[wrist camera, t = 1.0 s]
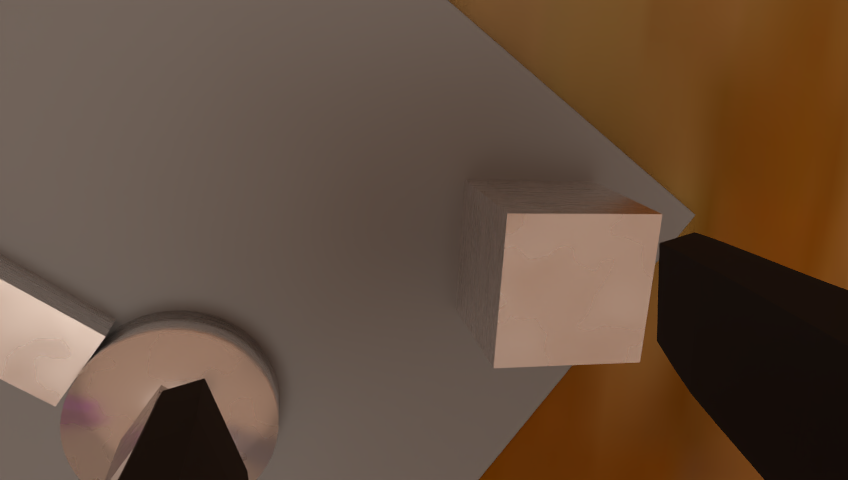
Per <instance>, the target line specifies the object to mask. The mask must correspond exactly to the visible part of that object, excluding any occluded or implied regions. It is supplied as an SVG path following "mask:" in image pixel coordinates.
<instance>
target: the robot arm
mask: <svg viewBox="0 0 848 480" xmlns="http://www.w3.org/2000/svg"><path fill="white" fill-rule="evenodd" d="M657 342H658V343H659V345H660V346H661V348H662V350H663V351H664V353H665V354H666V356H667V358H668V359H669V361H670V362H671V364H672V366H673V367H674V369H675V370H676V372H677V373H678V375H679V376H680V378H681V379H682V381H683V382H684V384H685V385H686V387H687V388H688V390H689V391H690V393H691V394H692V395H693V396H694V397H695V399H696V400H697V401H698V402H699V404H700V405H701V406H702V407H703V408H704V409H705V411H706V412H707V413H708V414H709V415H710V417H711V418H712V419H713V420H714V421H715V423H716V424H717V425H718V426H719V427H720V428H721V430H722V431H723V432H724V433H725V434H726V435H727V437H728V438H729V439H730V440H731V441H732V442H733V444H734V445H735V446H736V447H737V448H738V449H739V451H740V452H741V453H742V454H743V455H744V456H745V458H746V459H747V460H748V461H749V462H750V463H751V464H752V466H753V467H754V468H755V469H756V470H757V471H758V473H759V474H760V475H761V476H762V477H763V478H764V480H848V290H846V289H843V288H840V287H837V286H835V285H832V284H829V283H827V282H824V281H821V280H819V279H816V278H814V277H811V276H808V275H806V274H803V273H800V272H798V271H795V270H793V269H790V268H788V267H785V266H783V265H780V264H777V263H775V262H772V261H770V260H767V259H765V258H762V257H760V256H757V255H755V254H752V253H750V252H747V251H744V250H742V249H739V248H737V247H734V246H731V245H729V244H726V243H724V242H721V241H718V240H715V239H713V238H710V237H707V236H704V235H701V234H698V233H691V234H688V235H685V236H681V237H678V238H675V239H671V240H668V241H664V242H661V243H659V284H658V324H657ZM118 480H249V479H248V471H247V469H246V467H245V464H244V462H243V460H242V458H241V456H240V454H239V451H238V449H237V447H236V445H235V443H234V441H233V438H232V436H231V434H230V432H229V430H228V428H227V425H226V423H225V421H224V419H223V417H222V415H221V412H220V410H219V408H218V406H217V404H216V402H215V399H214V397H213V395H212V393H211V391H210V389H209V386H208V384H207V382H206V380H205V378H204V379H200V380H197V381H194V382H190V383H187V384H183V385H180V386H177V387H173V388H170V389H167V390H163V391H162V392H161V394H160V396H159V397H158V399H157V401H156V403H155V405H154V407H153V409H152V411H151V413H150V415H149V417H148V419H147V422H146V424H145V426H144V428H143V430H142V432H141V434H140V436H139V438H138V440H137V442H136V444H135V446H134V448H133V450H132V452H131V454H130V456H129V458H128V460H127V462H126V464H125V466H124V468H123V470H122V472H121V474H120V476H119V478H118Z"/></svg>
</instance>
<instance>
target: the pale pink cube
mask: <svg viewBox="0 0 848 480" xmlns="http://www.w3.org/2000/svg"><path fill="white" fill-rule="evenodd" d="M662 215H663V214H661V213H659V212H657V211H655V210H653V209H650V208H648V207H646V206H644V205H642V204H640V203H638V202H636V201H634V200H631V199H629V198H627V197H625V196H623V195H621V194H619V193H617V192H615V191H612V190H610V189H608V188H606V187H604V186H602V185H600V184H598V183H596V182H585V181H519V180H465V186H464V201H463V215H462V229H461V243H460V257H459V271H458V285H457V299H456V310H457V311H458V313H459V315H460V316H461V318H462V319H463V321H464V322H465V324H466V326H467V327H468V329H469V330H470V332H471V334H472V335H473V337H474V338H475V340H476V341H477V343H478V345H479V346H480V348H481V349H482V351H483V352H484V354H485V356H486V357H487V359H488V360H489V362H490V364H491V365H492V367H493V368H514V367H538V366H562V365H586V364H610V363H634V362H640V358H641V352H642V345H643V339H644V332H645V326H646V319H647V313H648V306H649V300H650V293H651V287H652V280H653V273H654V267H655V260H656V254H657V247H658V241H659V234H660V228H661V221H662Z"/></svg>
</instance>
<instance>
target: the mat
mask: <svg viewBox="0 0 848 480" xmlns="http://www.w3.org/2000/svg"><path fill="white" fill-rule="evenodd" d="M465 180H519V181H585V182H596V183H598V184H600V185H602V186H604V187H606V188H608V189H610V190H612V191H615V192H617V193H619V194H621V195H623V196H625V197H627V198H629V199H631V200H634V201H636V202H638V203H640V204H642V205H644V206H646V207H648V208H650V209H653V210H655V211H657V212H659V213H661V214H663V215H662V221H661V228H660V234H659V241H658V247H657V254H656V260H655V264H656V262H657V261H658V260H659V243H661V242H664V241H668V240H671V239H675V238H677V237H678V236H679V234H680V233H681V232H682V231H683V229H684V228H685V227H686V226H687V225H688V223H689V222H690V221H691V220H692V218H693V217H694V216H695V214H694V213H692V212H691V211H690V210H689V209H688V208H687V207H686V206H684V205H683V204H682V203H681V202H680V201H679V200H677V199H676V198H675V197H674V196H673V195H672V194H671V193H669V192H668V191H667V190H666V189H665V188H664V187H662V186H661V185H660V184H659V183H658V182H657V181H656V180H654V179H653V178H652V177H651V176H650V175H649V174H648V173H646V172H645V171H644V170H643V169H642V168H641V167H639V166H638V165H637V164H636V163H635V162H634V161H633V160H631V159H630V158H629V157H628V156H627V155H626V154H624V153H623V152H622V151H621V150H620V149H619V148H618V147H616V146H615V145H614V144H613V143H612V142H611V141H609V140H608V139H607V138H606V137H605V136H604V135H603V134H601V133H600V132H599V131H598V130H597V129H596V128H594V127H593V126H592V125H591V124H590V123H589V122H588V121H586V120H585V119H584V118H583V117H582V116H581V115H579V114H578V113H577V112H576V111H575V110H574V109H573V108H571V107H570V106H569V105H568V104H567V103H566V102H564V101H563V100H562V99H561V98H560V97H559V96H558V95H556V94H555V93H554V92H553V91H552V90H551V89H549V88H548V87H547V86H546V85H545V84H544V83H543V82H541V81H540V80H539V79H538V78H537V77H536V76H534V75H533V74H532V73H531V72H530V71H529V70H528V69H526V68H525V67H524V66H523V65H522V64H521V63H519V62H518V61H517V60H516V59H515V58H514V57H513V56H511V55H510V54H509V53H508V52H507V51H506V50H504V49H503V48H502V47H501V46H500V45H499V44H498V43H496V42H495V41H494V40H493V39H492V38H491V37H490V36H488V35H487V34H486V33H485V32H484V31H483V30H481V29H480V28H479V27H478V26H477V25H476V24H475V23H473V22H472V21H471V20H470V19H469V18H468V17H466V16H465V15H464V14H463V13H462V12H461V11H460V10H458V9H457V8H456V7H455V6H454V5H453V4H451V3H450V2H449V1H448V0H0V254H1V255H3V256H5V257H7V258H8V259H10V260H12V261H14V262H15V263H17V264H19V265H21V266H23V267H24V268H26V269H28V270H30V271H32V272H33V273H35V274H37V275H39V276H40V277H42V278H44V279H46V280H48V281H49V282H51V283H53V284H55V285H57V286H58V287H60V288H62V289H64V290H66V291H67V292H69V293H71V294H73V295H74V296H76V297H78V298H80V299H82V300H83V301H85V302H87V303H89V304H91V305H92V306H94V307H96V308H98V309H99V310H101V311H103V312H105V313H107V314H108V315H110V316H112V317H114V318H116V320H115V321H114V323H113V325H112V327H111V328H110V330H109V332H108V333H107V335H106V337H107V336H108V335H109V334H110V333H112V332H113V331H114V330H116V329H117V328H119V327H120V326H122V325H124V324H126V323H128V322H130V321H132V320H134V319H137V318H139V317H142V316H145V315H149V314H153V313H157V312H164V311H180V310H186V311H195V312H201V313H206V314H210V315H213V316H216V317H219V318H222V319H224V320H226V321H228V322H230V323H232V324H234V325H236V326H238V327H239V328H241V329H242V330H244V331H245V332H246V333H248V334H249V335H250V336H251V337H252V338H253V339H254V340H255V341H256V342H257V343H258V344H259V345H260V346H261V348H262V349H263V350H264V352H265V353H266V355H267V356H268V358H269V359H270V361H271V364H272V366H273V368H274V371H275V374H276V378H277V382H278V390H279V418H278V435H277V441H276V445H275V448H274V451H273V454H272V456H271V458H270V460H269V462H268V464H267V466H266V467H265V469H264V470H263V472H262V473H261V475H260V476H259V477H258V478H257V479H256V480H479V478H480V477H481V476H482V475H483V473H484V472H485V471H486V470H487V469H488V467H489V466H490V465H491V464H492V462H493V461H494V460H495V459H496V458H497V456H498V455H499V454H500V453H501V452H502V450H503V449H504V448H505V447H506V445H507V444H508V443H509V442H510V441H511V439H512V438H513V437H514V436H515V434H516V433H517V432H518V431H519V430H520V428H521V427H522V426H523V425H524V423H525V422H526V421H527V420H528V419H529V417H530V416H531V415H532V414H533V412H534V411H535V410H536V409H537V408H538V406H539V405H540V404H541V403H542V401H543V400H544V399H545V398H546V397H547V395H548V394H549V393H550V392H551V390H552V389H553V388H554V387H555V386H556V384H557V383H558V382H559V381H560V380H561V378H562V377H563V376H564V375H565V373H566V372H567V371H568V370H569V369H570V367H571V366H572V365H562V366H538V367H514V368H493V367H492V365H491V364H490V362H489V360H488V359H487V357H486V356H485V354H484V352H483V351H482V349H481V348H480V346H479V345H478V343H477V341H476V340H475V338H474V337H473V335H472V334H471V332H470V330H469V329H468V327H467V326H466V324H465V322H464V321H463V319H462V318H461V316H460V315H459V313H458V311H457V310H456V299H457V285H458V271H459V257H460V243H461V229H462V215H463V201H464V186H465ZM106 337H105V338H106ZM78 375H79V374H78ZM76 378H77V377H76ZM75 380H76V379H75ZM75 380H74V381H75ZM74 381H73V383H74ZM73 383H72V384H71V386H72V385H73ZM71 386H70V387H69V388H68V390H67V391H66V393H65V394H64V395H63V397H62V398H61V399H60V401H59V402H58V404H57V405H56V406H53V405H51V404H49V403H47V402H45V401H43V400H41V399H39V398H37V397H35V396H33V395H31V394H29V393H27V392H25V391H23V390H21V389H19V388H17V387H15V386H13V385H11V384H9V383H7V382H5V381H3V380H1V379H0V480H80V479H79V478H78V477H77V475H76V474H75V473H74V471H73V469H72V468H71V466H70V464H69V463H68V460H67V458H66V455H65V453H64V450H63V446H62V442H61V433H60V421H61V413H62V409H63V405H64V401H65V399H66V397H67V394H68V392H69V390H70V388H71Z"/></svg>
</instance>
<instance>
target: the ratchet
mask: <svg viewBox="0 0 848 480" xmlns="http://www.w3.org/2000/svg"><path fill="white" fill-rule="evenodd" d="M115 320H116V318H114V317H112V316H110V315H108V314H107V313H105V312H103V311H101V310H99V309H98V308H96V307H94V306H92V305H91V304H89V303H87V302H85V301H83V300H82V299H80V298H78V297H76V296H74V295H73V294H71V293H69V292H67V291H66V290H64V289H62V288H60V287H58V286H57V285H55V284H53V283H51V282H49V281H48V280H46V279H44V278H42V277H40V276H39V275H37V274H35V273H33V272H32V271H30V270H28V269H26V268H24V267H23V266H21V265H19V264H17V263H15V262H14V261H12V260H10V259H8V258H7V257H5V256H3V255H1V254H0V379H1V380H3V381H5V382H7V383H9V384H11V385H13V386H15V387H17V388H19V389H21V390H23V391H25V392H27V393H29V394H31V395H33V396H35V397H37V398H39V399H41V400H43V401H45V402H47V403H49V404H51V405H53V406H56V405H57V404H58V402H59V401H60V399H61V398H62V397H63V395H64V394H65V393H66V391H67V390H68V388H69V387H70V386H71V384H72V383H73V381H74V380H75V379H76V380H75V381H74V383H73V385H72V386H71V388H70V390H69V392H68V394H67V397H66V399H65V401H64V405H63V409H62V413H61V421H60V433H61V442H62V446H63V450H64V453H65V455H66V458H67V460H68V463H69V464H70V466H71V468H72V469H73V471H74V473H75V474H76V475H77V477H78V478H79V479H80V480H118V478H119V476H120V474H121V472H122V470H123V468H124V466H125V464H126V462H127V460H128V458H129V456H130V454H131V452H132V450H133V448H134V446H135V444H136V442H137V440H138V438H139V436H140V434H141V432H142V430H143V428H144V426H145V424H146V422H147V419H148V417H149V415H150V413H151V411H152V409H153V407H154V405H155V403H156V401H157V399H158V397H159V396H160V394H161V392H162V391H163V390H167V389H170V388H173V387H177V386H180V385H183V384H187V383H190V382H194V381H197V380H200V379H204V378H205V380H206V382H207V384H208V386H209V389H210V391H211V393H212V395H213V397H214V399H215V402H216V404H217V406H218V408H219V410H220V412H221V415H222V417H223V419H224V421H225V423H226V425H227V428H228V430H229V432H230V434H231V436H232V438H233V441H234V443H235V445H236V447H237V449H238V451H239V454H240V456H241V458H242V460H243V462H244V464H245V467H246V469H247V471H248V479H249V480H256V479H257V478H258V477H259V476H260V475H261V473H262V472H263V470H264V469H265V467H266V466H267V464H268V462H269V460H270V458H271V456H272V454H273V451H274V448H275V445H276V441H277V435H278V418H279V390H278V382H277V378H276V374H275V371H274V368H273V366H272V364H271V361H270V359H269V358H268V356H267V355H266V353H265V352H264V350H263V349H262V348H261V346H260V345H259V344H258V343H257V342H256V341H255V340H254V339H253V338H252V337H251V336H250V335H249V334H248V333H246V332H245V331H244V330H242V329H241V328H239V327H238V326H236V325H234V324H232V323H230V322H228V321H226V320H224V319H222V318H219V317H216V316H213V315H210V314H206V313H201V312H195V311H186V310H180V311H164V312H157V313H153V314H149V315H145V316H142V317H139V318H137V319H134V320H132V321H130V322H128V323H126V324H124V325H122V326H120V327H119V328H117V329H116V330H114V331H113V332H112V333H110V334H109V335H108V336H107V337H106V335H107V333H108V332H109V330H110V328H111V327H112V325H113V323H114V321H115ZM105 337H106V338H105ZM78 374H79V375H78ZM76 377H77V378H76Z"/></svg>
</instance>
